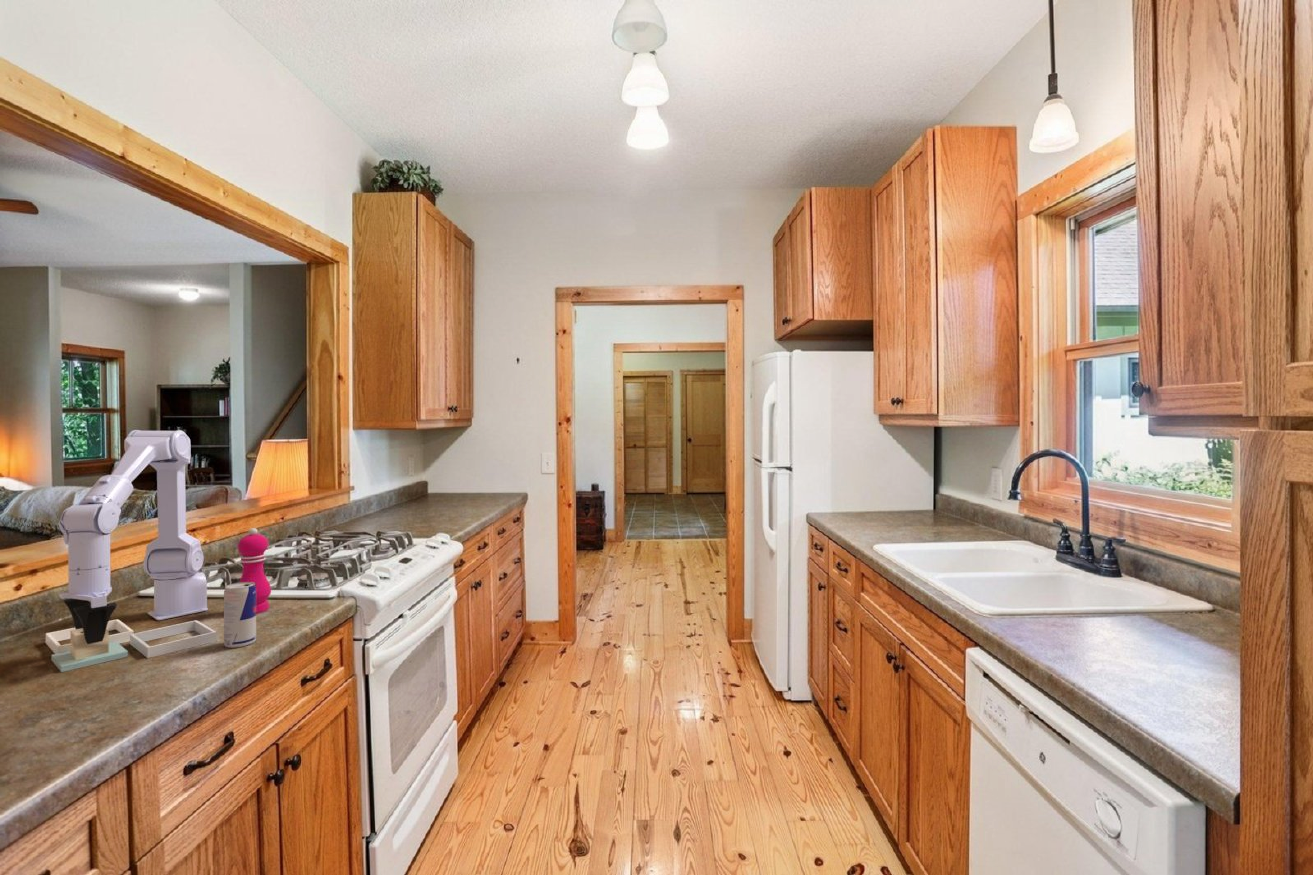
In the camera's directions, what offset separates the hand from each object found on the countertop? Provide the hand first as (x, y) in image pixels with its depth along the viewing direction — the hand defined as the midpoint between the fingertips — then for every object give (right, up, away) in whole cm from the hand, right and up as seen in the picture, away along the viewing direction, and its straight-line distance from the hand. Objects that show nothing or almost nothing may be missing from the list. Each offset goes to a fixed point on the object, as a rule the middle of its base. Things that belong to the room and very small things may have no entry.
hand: (89, 637), depth 110 cm
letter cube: (0, -3, 0) cm, 3 cm away
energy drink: (+23, -4, +8) cm, 24 cm away
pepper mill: (+11, -4, +29) cm, 31 cm away
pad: (0, -4, 0) cm, 4 cm away
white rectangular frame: (+9, -4, +8) cm, 13 cm away
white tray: (-8, -4, +8) cm, 12 cm away
